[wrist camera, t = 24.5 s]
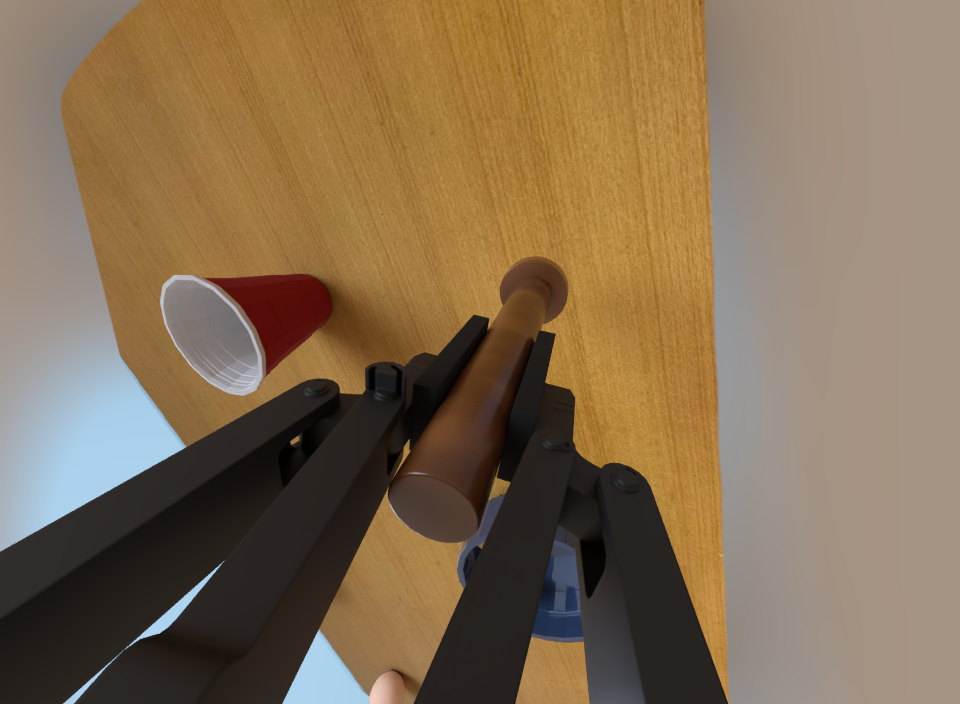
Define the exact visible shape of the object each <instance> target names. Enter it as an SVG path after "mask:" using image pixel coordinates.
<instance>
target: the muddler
mask: <svg viewBox="0 0 960 704" xmlns="http://www.w3.org/2000/svg"><path fill="white" fill-rule="evenodd" d="M567 296H568V281H567V278H566V275H565V273H564V272H563V270H562V269H561V268H560V267H559V266H558V265H557V264H556V263H555V262H553V261H551V260H549V259H547V258H544V257H537V256H535V257H527V258H524V259H522V260H520V261H518V262H516V263H515V264H514V265H513V266H512V267H511V268H510V269H509V270H508V272H507V273H506V274H505V276H504V278H503V280H502V282H501V286H500V298H501V302H502V304H503V307H502V309H501V311H500V312H499V314H498V315H497V317H496V318H495V320H494V321H493V323H492V325H491V326H490V328H489V329H488V331H487V332H486V334H485V336H484V337H483V339H482V340H481V342H480V343H479V345H478V347H477V348H476V350H475V351H474V353H473V354H472V356H471V357H470V359H469V361H468V362H467V364H466V365H465V367H464V368H463V370H462V372H461V373H460V375H459V376H458V378H457V379H456V381H455V382H454V384H453V386H452V387H451V389H450V390H449V392H448V393H447V395H446V397H445V398H444V400H443V401H442V403H441V404H440V406H439V408H438V409H437V411H436V412H435V414H434V415H433V417H432V418H431V420H430V422H429V423H428V425H427V426H426V428H425V429H424V431H423V433H422V434H421V436H420V437H419V439H418V440H417V442H416V444H415V445H414V447H413V448H412V450H411V451H410V453H409V454H408V456H407V458H406V459H405V461H404V462H403V464H402V465H401V467H400V469H399V470H398V472H397V473H396V475H395V476H394V478H393V480H392V481H391V483H390V485H389V489H388V499H389V503H390V505H391V508H392V509H393V511H394V513H395V514H396V515H397V517H398V518H399V519H400V520H401V521H402V522H403V523H404V524H405V525H406V526H408V527H409V528H410V529H412V530H413V531H415V532H416V533H418V534H420V535H422V536H424V537H426V538H429V539H432V540H435V541H439V542H445V543H458V542H463V541H466V540H468V539H470V538H471V537H473V536H474V535H475V533H476V532H477V531H478V529H479V528H480V524H481V521H482V518H483V515H484V511H485V508H486V505H487V502H488V499H489V495H490V492H491V489H492V486H493V483H494V479H495V476H496V473H497V470H498V467H499V463H500V460H501V457H502V454H503V450H504V447H505V444H506V434H507V430H508V425H509V421H510V416H511V412H512V409H513V406H514V403H515V400H516V397H517V394H518V391H519V388H520V385H521V382H522V379H523V376H524V373H525V370H526V367H527V364H528V361H529V358H530V355H531V352H532V350H533V347H534V344H535V341H536V338H537V335H538V332H539V330H541V329H542V325H543V324H545V323H548V322H550V321H552V320H553V319H555V318H556V317H557V316H558V315H559V314H560V313H561V312H562V310H563V309H564V306H565V304H566V301H567Z"/></svg>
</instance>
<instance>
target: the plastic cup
mask: <svg viewBox="0 0 960 704" xmlns="http://www.w3.org/2000/svg"><path fill="white" fill-rule="evenodd" d="M160 304H161V309H162V313H163V318H164V322H165V325H166V327H167V329H168V331H169V333H170V335H171V338H172V340H173V342H174V344H175V346H176V347H177V348H178V350H179V351H180V352H181V354H182V355H183V356H184V358H185V359H186V360H187V362H188V363H189V364H190V366H191V367H192V368H193V369H194V370H195V371H197V372H198V373H199V374H200V375H201V376H202V377H203V378H204V379H205V380H206V381H208V382H209V383H210V384H212V385H214V386H216V387H217V388H219V389H221V390H223V391H224V392H226V393H231V394H236V395H242V396H244V395H246V394H249V393H251V392H254V391H256V390H257V389H258V388H259V387H260V385H261V383H262V381H263V379H264V378H265V377H266V376H267V375H268V374H269V373H270V371H271V370H273V369H274V368H275V367H276V366H277V365H278V363H280V362H281V361H282V360H283V359H284V358H285V357H287V356H288V355H289V354H290V353H291V352H293V351H294V350H295V349H296V348H297V347H299V346H300V345H301V344H302V343H303V342H305V341H306V340H307V339H308V338H309V337H311V335H312V334H313V333H314V332H315V331H316V330H317V329H319V328H320V327H321V326H322V325H324V324H325V322H326V321H327V320H328V318H329V317H330V315H331V313H332V301H331V297H330V294H329V293H328V291H327V289H326V288H325V286H324V285H323V284H322V283H321V282H320V281H319V280H317V279H316V278H314V277H312V276H309V275H304V274H290V275H266V276H253V277H239V278H202V277H200V276H198V275H173V276H172V277H171V278H170V279H169V280H168V281H167V282H166V283H165V284H164V285H163V288H162V294H161V300H160Z"/></svg>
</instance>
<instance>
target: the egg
mask: <svg viewBox="0 0 960 704" xmlns="http://www.w3.org/2000/svg"><path fill="white" fill-rule="evenodd" d="M404 690H405V689H404V683H403V680H402V677H401V676H400V675H399V674H398V673H397V672H395V671H389V672H386V673H384V674H382V675H381V676H380V677H379V678H378V679H377V681H376V682H375V684H374V686H373V688H372V691H371V694H370V699H369V704H402V702H403V699H404Z"/></svg>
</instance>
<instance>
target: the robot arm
mask: <svg viewBox="0 0 960 704" xmlns="http://www.w3.org/2000/svg"><path fill="white" fill-rule="evenodd" d="M488 323H489V318H485V317H481V316H477V315H473V316H472V317H471V319H470V320H469V321H468V322H467V323H466V324H465V325H464V326H463V328H462V329H461V330H460V331H459V332H458V333H457V334H456V336H455V337H454V338H453V339H452V340H451V341H450V342H449V343H448V345H447V346H446V347H445V348H444V349H443V350H442V351H441V352H440V354H439V355H438V356H436V355H433V354H429V353H425V352H424V353H422V354H419V355H417V356H414V357H413V358H412V359H411V360H410V361H409V362H408V364H406V365H405V366H404V367H403V366H402V365H400V364H397V363H394V362H377V363H374V364H371V365H369V366H368V367H366V368H365V381H366V390H365V392H364V393H363V394H342V393H340V388H339V386H338V384H337V383H336V382H334V381H333V380H329V379H312V380H307V381H305V382H303V383H300V384H298V385H297V386H295V387H293V388H291V389H290V390H288V391H286V392H284V393H282V394H281V395H279V396H277V397H275V398H274V399H272V400H270V401H268V402H266V403H265V404H263V405H261V406H259V407H257V408H256V409H254V410H252V411H250V412H249V413H247V414H245V415H243V416H241V417H240V418H238V419H236V420H234V421H233V422H231V423H229V424H227V425H225V426H224V427H222V428H220V429H218V430H216V431H215V432H213V433H211V434H209V435H208V436H206V437H204V438H202V439H200V440H199V441H197V442H195V443H193V444H192V445H190V446H188V447H186V448H184V449H183V450H181V451H179V452H177V453H175V454H174V455H172V456H170V457H168V458H167V459H165V460H163V461H161V462H159V463H158V464H156V465H154V466H152V467H151V468H149V469H147V470H145V471H143V472H142V473H140V474H138V475H136V476H134V477H133V478H131V479H129V480H127V481H126V482H124V483H122V484H120V485H118V486H117V487H115V488H113V489H111V490H110V491H108V492H106V493H104V494H102V495H101V496H99V497H97V498H95V499H94V500H92V501H90V502H88V503H86V504H85V505H83V506H81V507H80V508H77V509H76V510H74V511H72V512H70V513H69V514H67V515H65V516H63V517H61V518H60V519H58V520H56V521H54V522H52V523H51V524H49V525H47V526H45V527H44V528H42V529H40V530H39V531H37V532H35V533H33V534H31V535H29V536H28V537H26V538H24V539H22V540H20V541H19V542H17V543H16V544H13V545H11V546H10V547H8V548H6V549H4V550H3V551H1V552H0V704H63V703H64V702H65V701H67V700H68V699H69V698H70V697H71V696H72V695H73V694H75V693H76V692H77V691H78V690H79V689H80V688H81V687H82V686H84V685H85V684H86V683H87V682H88V681H89V680H90V679H91V678H93V677H94V676H95V675H96V674H97V673H98V672H99V671H100V670H101V669H103V668H104V667H105V666H106V665H107V664H108V663H110V662H111V661H112V660H113V659H114V658H115V657H116V656H117V655H119V654H120V653H121V652H122V651H123V650H124V649H125V648H126V647H127V646H129V645H130V644H131V643H132V642H133V641H134V640H135V639H137V638H138V637H139V636H140V635H141V634H142V633H143V632H144V631H146V630H147V629H148V628H149V627H150V626H151V625H152V624H153V623H155V622H156V621H157V620H158V619H159V618H160V617H161V616H162V615H164V614H165V613H166V612H167V611H168V610H169V609H170V608H172V607H173V606H174V605H175V604H176V603H177V602H178V601H179V600H181V598H183V597H184V596H185V595H186V594H187V593H188V592H190V591H191V590H192V589H193V588H194V587H195V586H196V585H197V584H198V583H200V582H201V581H202V580H203V579H204V578H205V577H206V576H208V575H209V574H210V573H211V572H212V571H213V570H214V569H215V568H216V567H218V566H219V565H220V564H221V563H222V562H223V561H224V560H225V561H224V562H223V563H222V565H221V566H220V567H219V568H218V569H217V571H216V572H215V573H214V574H213V575H212V577H211V578H210V579H209V580H208V582H207V583H206V584H205V585H204V587H203V588H202V589H201V590H200V591H199V592H198V594H197V595H196V596H195V597H194V598H193V600H192V601H191V602H190V603H189V605H188V606H187V607H186V608H185V609H184V611H183V612H182V613H181V614H180V615H179V617H178V618H177V619H176V620H175V621H174V622H173V623H172V624H171V625H170V626H169V627H168V628H167V629H165V630H164V631H163V632H161V633H160V634H156V635H153V636H149V637H146V638H143V639H140V640H138V641H137V642H135V643H134V644H133V645H131V646H130V647H128V648H127V649H125V650H124V651H123V652H122V653H121V654H120V655H119V656H118V657H117V658H116V659H115V660H114V661H112V662H111V664H109V665H108V666H107V667H106V668H105V670H104V671H103V672H102V673H101V674H100V675H99V676H98V677H97V679H96V680H95V681H94V682H93V683H92V684H91V685H90V686H89V687H88V689H87V690H86V691H85V692H84V693H83V694H82V695H81V696H80V698H79V699H78V700H77V701H76V702H75V703H74V704H282V703H283V701H284V699H285V697H286V695H287V693H288V691H289V688H290V687H291V685H292V682H293V681H294V678H295V676H296V674H297V672H298V670H299V668H300V666H301V664H302V662H303V660H304V658H305V656H306V654H307V652H308V650H309V648H310V646H311V644H312V642H313V640H314V638H315V636H316V634H317V632H318V630H319V628H320V626H321V624H322V622H323V619H324V617H325V615H326V613H327V611H328V609H329V607H330V605H331V603H332V601H333V599H334V597H335V595H336V593H337V591H338V589H339V587H340V585H341V583H342V581H343V579H344V577H345V575H346V573H347V571H348V569H349V567H350V565H351V562H352V560H353V558H354V556H355V554H356V552H357V550H358V548H359V546H360V544H361V542H362V540H363V538H364V536H365V534H366V532H367V530H368V528H369V526H370V524H371V522H372V520H373V518H374V516H375V514H376V512H377V510H378V508H379V505H380V503H381V501H382V499H383V497H384V495H385V493H386V491H387V489H388V487H389V485H390V483H391V481H392V479H393V477H394V475H395V473H396V471H397V469H398V467H399V465H400V463H401V461H402V458H403V451H404V446H405V444H406V443H407V441H408V440H409V439H410V446H409V450H412V448H413V447H414V445H415V444H416V442H417V440H418V439H419V437H420V436H421V434H422V433H423V431H424V429H425V428H426V426H427V425H428V423H429V422H430V420H431V418H432V417H433V415H434V414H435V412H436V411H437V409H438V408H439V406H440V404H441V403H442V401H443V400H444V398H445V397H446V395H447V393H448V392H449V390H450V389H451V387H452V386H453V384H454V382H455V381H456V379H457V378H458V376H459V375H460V373H461V372H462V370H463V368H464V367H465V365H466V364H467V362H468V361H469V359H470V357H471V356H472V354H473V353H474V351H475V350H476V348H477V347H478V345H479V343H480V342H481V340H482V339H483V337H484V336H485V334H486V332H487V329H488ZM554 339H555V334H553V333H549V332H545V331H541V330H539V332H538V335H537V338H536V341H535V344H534V347H533V350H532V352H531V355H530V358H529V361H528V364H527V367H526V370H525V373H524V376H523V379H522V382H521V385H520V388H519V391H518V394H517V397H516V400H515V403H514V406H513V409H512V412H511V416H510V421H509V425H508V430H507V434H506V444H505V447H504V450H503V454H502V457H501V461H500V465H499V470H498V474H497V478H499V479H502V480H505V481H508V482H511V483H510V486H509V488H508V490H507V492H506V495H505V497H504V499H503V501H502V504H501V506H500V508H499V511H498V513H497V515H496V517H495V520H494V522H493V524H492V526H491V529H490V531H489V533H488V536H487V538H486V540H485V542H484V545H483V547H482V549H481V552H480V554H479V556H478V558H477V561H476V563H475V565H474V567H473V570H472V572H471V574H470V577H469V579H468V581H467V583H466V586H465V588H464V590H463V593H462V595H461V597H460V599H459V602H458V604H457V606H456V608H455V611H454V613H453V615H452V618H451V620H450V622H449V624H448V627H447V629H446V631H445V634H444V636H443V638H442V640H441V643H440V645H439V647H438V649H437V652H436V654H435V656H434V659H433V661H432V663H431V665H430V668H429V670H428V672H427V674H426V677H425V679H424V681H423V684H422V686H421V688H420V690H419V693H418V695H417V697H416V700H415V702H414V704H515V702H516V698H517V694H518V690H519V685H520V681H521V677H522V673H523V669H524V665H525V660H526V656H527V652H528V648H529V644H530V640H531V635H532V631H533V627H534V623H535V619H536V615H537V610H538V606H539V602H540V598H541V594H542V589H543V585H544V581H545V577H546V573H547V569H548V564H549V560H550V556H551V552H552V548H553V544H554V539H555V535H556V531H557V527H558V525H559V526H561V527H562V528H564V529H565V530H567V531H568V532H570V533H571V534H573V535H574V543H575V553H576V564H577V574H578V585H579V596H580V606H581V617H582V627H583V638H584V648H585V659H586V670H587V680H588V691H589V701H590V704H728V702H727V699H726V696H725V693H724V690H723V688H722V685H721V682H720V679H719V677H718V674H717V671H716V668H715V665H714V663H713V660H712V657H711V654H710V651H709V649H708V646H707V643H706V640H705V638H704V635H703V632H702V629H701V626H700V624H699V621H698V618H697V615H696V612H695V610H694V607H693V604H692V601H691V599H690V596H689V593H688V590H687V587H686V585H685V582H684V579H683V576H682V573H681V571H680V568H679V565H678V562H677V559H676V557H675V554H674V551H673V548H672V546H671V543H670V540H669V537H668V534H667V532H666V529H665V526H664V523H663V520H662V518H661V515H660V512H659V509H658V507H657V504H656V501H655V498H654V495H653V493H652V490H651V487H650V485H649V484H648V482H647V480H646V479H645V478H644V477H643V476H642V475H641V474H640V473H639V472H637V471H636V470H634V469H633V468H631V467H629V466H626V465H623V464H620V463H609V464H606V465H604V466H603V467H602V468H599V467H597V466H595V465H594V464H592V463H590V462H589V461H587V460H585V459H584V458H583V457H582V456H581V455H580V454H579V453H578V452H577V451H576V449H575V444H574V442H573V427H574V409H575V408H574V407H575V397H574V395H573V394H572V392H571V390H570V389H566V388H562V387H558V386H554V385H551V384H547V383H545V380H546V376H547V371H548V367H549V362H550V357H551V353H552V348H553V344H554ZM298 435H299V441H298V442H297V443H295V444H293V445H291V444H290V441H291V440H293V439H294V438H295V437H297V436H298Z"/></svg>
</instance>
